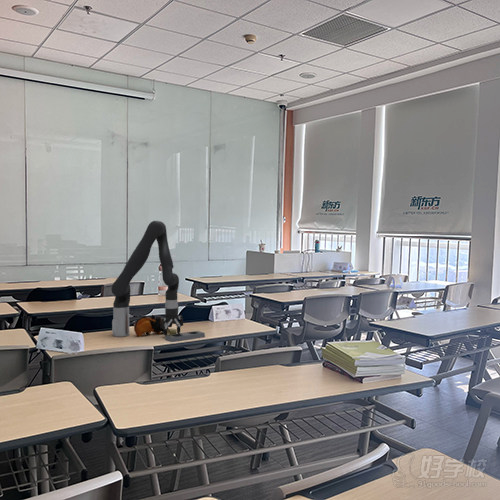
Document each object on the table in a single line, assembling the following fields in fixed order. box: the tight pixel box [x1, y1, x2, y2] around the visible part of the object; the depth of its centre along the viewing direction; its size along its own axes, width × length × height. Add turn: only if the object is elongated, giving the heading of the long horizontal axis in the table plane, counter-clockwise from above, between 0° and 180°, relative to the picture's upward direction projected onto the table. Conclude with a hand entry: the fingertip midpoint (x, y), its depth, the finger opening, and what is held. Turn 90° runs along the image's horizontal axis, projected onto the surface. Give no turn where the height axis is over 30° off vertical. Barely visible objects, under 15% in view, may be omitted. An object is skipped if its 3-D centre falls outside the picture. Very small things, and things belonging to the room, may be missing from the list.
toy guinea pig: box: [133, 314, 173, 338], centre depth 301 cm, size 8×23×15 cm, turn 126°
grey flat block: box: [164, 330, 206, 343], centre depth 289 cm, size 22×8×2 cm, turn 128°
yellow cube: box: [167, 327, 177, 335], centre depth 294 cm, size 4×4×4 cm
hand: (171, 334), depth 294 cm, fingers open, 8 cm apart
